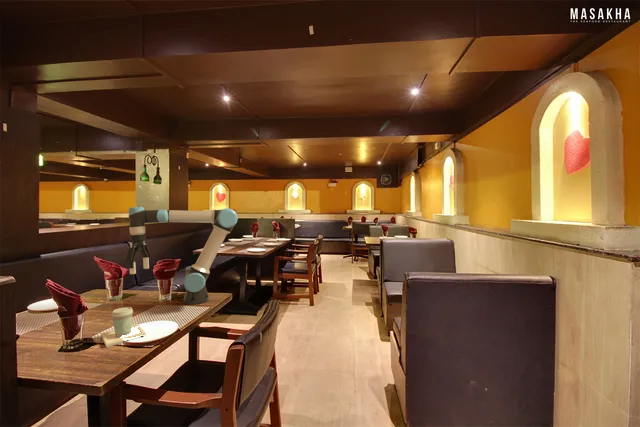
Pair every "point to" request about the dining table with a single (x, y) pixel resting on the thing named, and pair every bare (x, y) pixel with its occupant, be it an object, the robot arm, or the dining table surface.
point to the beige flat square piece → (112, 340)
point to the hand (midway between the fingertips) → (139, 271)
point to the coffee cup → (122, 321)
